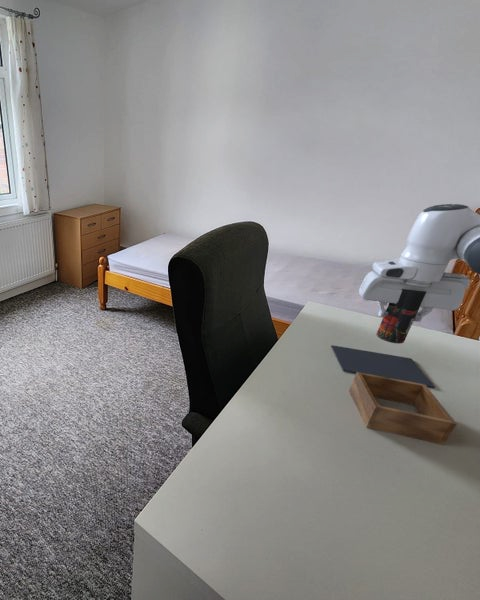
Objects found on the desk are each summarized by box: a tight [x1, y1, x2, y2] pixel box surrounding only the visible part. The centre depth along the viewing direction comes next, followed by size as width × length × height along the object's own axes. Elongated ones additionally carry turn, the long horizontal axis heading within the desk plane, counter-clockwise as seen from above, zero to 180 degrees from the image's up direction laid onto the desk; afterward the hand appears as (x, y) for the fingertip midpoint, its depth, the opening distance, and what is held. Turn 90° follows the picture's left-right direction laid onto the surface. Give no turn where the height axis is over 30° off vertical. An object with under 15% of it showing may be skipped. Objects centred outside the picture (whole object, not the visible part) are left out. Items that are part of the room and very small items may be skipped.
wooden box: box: [349, 372, 458, 446], centre depth 79 cm, size 14×14×6 cm
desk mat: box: [330, 344, 436, 389], centre depth 98 cm, size 20×14×1 cm
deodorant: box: [375, 289, 426, 344], centre depth 91 cm, size 6×6×15 cm
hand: (398, 318), depth 91 cm, fingers closed on deodorant, 6 cm apart
